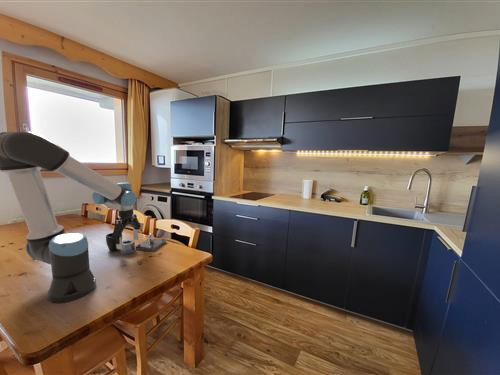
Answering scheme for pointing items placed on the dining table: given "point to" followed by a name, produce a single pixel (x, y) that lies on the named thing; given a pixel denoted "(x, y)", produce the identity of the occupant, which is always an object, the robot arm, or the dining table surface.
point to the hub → (127, 247)
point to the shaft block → (150, 243)
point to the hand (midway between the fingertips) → (128, 243)
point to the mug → (112, 242)
